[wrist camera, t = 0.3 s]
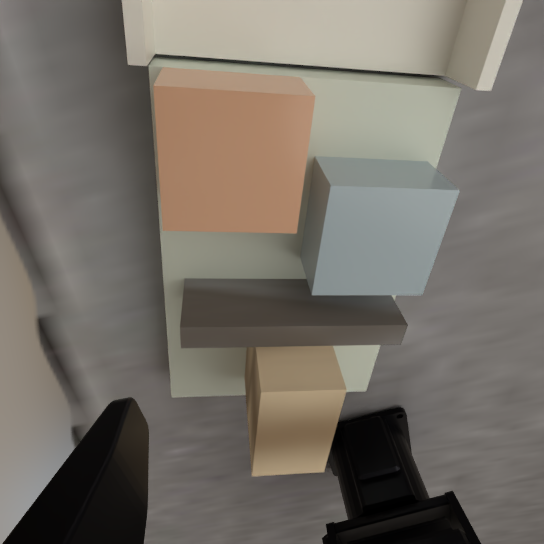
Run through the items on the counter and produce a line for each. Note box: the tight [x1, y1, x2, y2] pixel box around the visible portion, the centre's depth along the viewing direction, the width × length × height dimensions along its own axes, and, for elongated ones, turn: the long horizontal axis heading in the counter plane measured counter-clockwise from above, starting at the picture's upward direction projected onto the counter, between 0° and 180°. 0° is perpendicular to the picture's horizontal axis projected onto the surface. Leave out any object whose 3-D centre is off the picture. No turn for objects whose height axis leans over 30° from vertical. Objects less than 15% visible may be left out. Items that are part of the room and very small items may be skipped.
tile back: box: [300, 156, 460, 295], centre depth 18 cm, size 5×5×3 cm
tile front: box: [153, 67, 315, 234], centre depth 16 cm, size 5×5×3 cm
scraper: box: [180, 278, 408, 476], centre depth 21 cm, size 7×10×6 cm
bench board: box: [148, 57, 461, 398], centre depth 22 cm, size 18×12×2 cm, turn 175°
